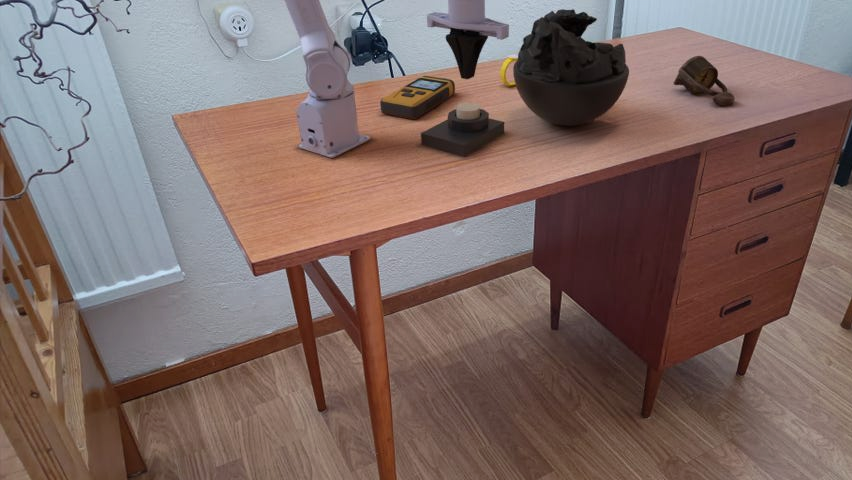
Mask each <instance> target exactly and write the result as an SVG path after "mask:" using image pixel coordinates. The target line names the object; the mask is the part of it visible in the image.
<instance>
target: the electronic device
mask: <svg viewBox="0 0 852 480" xmlns="http://www.w3.org/2000/svg"><path fill="white" fill-rule="evenodd" d="M455 92H456V84H455V82H454V80H452V79H449V78H443V77H436V76H430V75H422V76H420V77H418V78H417V79H415V80H413V81H411V82H410V83H408V84H406V85H404V86H403V87H401V88H399V89H397V90H395V91H394V92H392V93H390V94H388V95H386V96H385V97H383V98H381V99H380V102H379V105H380V111H381V114H384V115H390V116H394V117H400V118H405V119H411V120H416V119H418V118H419V117H421V116H423V115H424V114H426V113H427V112H429V111H431V110H432V109H434V108H436V107H438V105H440V104H441V103H443V102H444V101H446V100H448V99H449V98H450V97H452V96H453V95H454V94H456V93H455Z"/></svg>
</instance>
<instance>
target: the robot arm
mask: <svg viewBox="0 0 852 480" xmlns="http://www.w3.org/2000/svg"><path fill="white" fill-rule="evenodd" d="M283 1H284V3H285V6H286V8H287V10H288V13H289V15H290V18H291V20H292V23H293V25H294V28H295V31H296V32H297V35H298V37H299V42H300V48H301V49H300V50H301V54H302V58H303V61H304V64H305V69H306V70H305V81H306V85H307V86H308V95H307V97H306V98H305V100H304V101H302V102H300V103H299V104H298V106H297V109H296V119H297V125H298V130H299V137H300V142H301V143H300V144H298V148H299V149H302V150H305V151H309V152H311V153H314V154H318V155H321V156H324V157H326V158H330V159H333V158H335V157H338V156H340V155H342V154H344V153H346V152H348V151H350V150H352V149H354V148H356V147H358V146H360V145H362V144H364V143H366V142H369V141H370V140H371V136H369V135H367V134H362V133H360V132H359V131H360V130H359V123H358V114H357V105H356V97H355V96H356V95H355V87H354V85H353V84H352V83H351V82H350V81H349V79H348V74H349V71H350V68H351V58H350V56H349V53H348V52H347V50H346V49H345V48H344V47H343V46H342V45H341V44H340V43H339V41H338V39H337V37H336V34H335V32H334V31H333V29H332V27H330V25H329V23H328V19H327V17H326V15H325V12H324V10H323V6H322V4H321V1H320V0H283ZM447 10H448V13H447V12H435V11H434V12H431V13H428V14H426V27H427V28H440V29H445V30H446V29H447V30H450V31H449V33H447V34H446V35H445V42H447V44H448V46H449V48H450V49H451V51H452V54H453V56H454V59H455V61H456V64H457V67H458V71H459V75H460V79H463V80H470V79H472V78H474V77H475V75H476V70H477V66H478V62H479V58H480V55H481V52H482V50H483V48H484V46H485V44H486V42H487V40H488V39H489V37H493V38H496V40H501V41H503V40H504V39H507V38H509V36H510V24H509V23H505V22H500V21H497V20H495V19H491V18H488V17H486V0H447Z"/></svg>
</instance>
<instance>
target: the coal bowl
mask: <svg viewBox="0 0 852 480" xmlns="http://www.w3.org/2000/svg"><path fill="white" fill-rule="evenodd" d="M597 21H598V18H597V17H594V16H592V15H589V14H588V13H587V12H585V11H582V12H581V11H580V12H579V13H576V10H575V9H574V8H572V9H563V8H561V9H557V11H556V12H554V10H551V11H550V12H548V13H545V14H544V16H541V17H540V18H537V19H536V20H535V21H533V25H532V28H531V33H529V34H527V35H525V36H524V37H523V39H522V42H523V43H522V45H521V46H520V48H519V51H518V54H517V55H518V60H517V61H514V64H513V67H512V73H513V79H514V82H515V84H516V85H515V87H516V90H517V93H518V94H519V96H520V98H521V100H522V101H523V103H524V104H525V105H526V107H527V108H528V109H529V110H530V111H531V112H532V113H533V114H534V115H536V116H537V117H539V118H540V119H542V120H544V121H546V122H548V123H551V124H554V125H559V126H567V127H568V126H569V127H571V126H573V127H574V126H579V125H580V126H581V125H584V124H588V123H590V122H593V121H594V120H597V119H599V118H600V117H602V116H603V115H605V114H606V113H607V112H608V111H610V110H611V109H612V107H614V105H616V103H617V101H619V99H620V97H621V96H622V94H623V92H624V91H625V87H626V85H627V83H628V80H629V75H630V67H629V66H628V65H627V64H626V62H627V59H626V58H627V57H626V50H625V47H624V44H623V43H618V44H617V45H615V46H614V45H613V44H612V43H609V42H592V41H588V40H585V39H584V38H583V37H582V36H583V34H584V33H585V32H586V30H587V29H588V27H589V26H591V25H593V24H594V23H595V22H597Z"/></svg>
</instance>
